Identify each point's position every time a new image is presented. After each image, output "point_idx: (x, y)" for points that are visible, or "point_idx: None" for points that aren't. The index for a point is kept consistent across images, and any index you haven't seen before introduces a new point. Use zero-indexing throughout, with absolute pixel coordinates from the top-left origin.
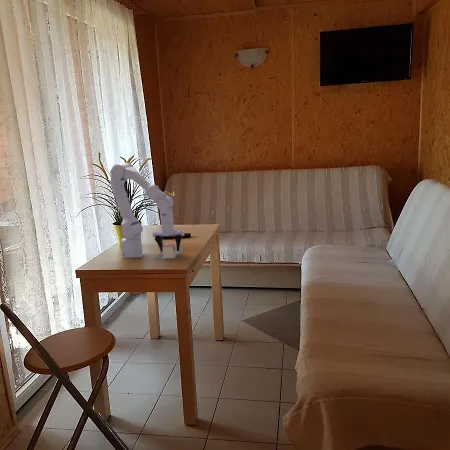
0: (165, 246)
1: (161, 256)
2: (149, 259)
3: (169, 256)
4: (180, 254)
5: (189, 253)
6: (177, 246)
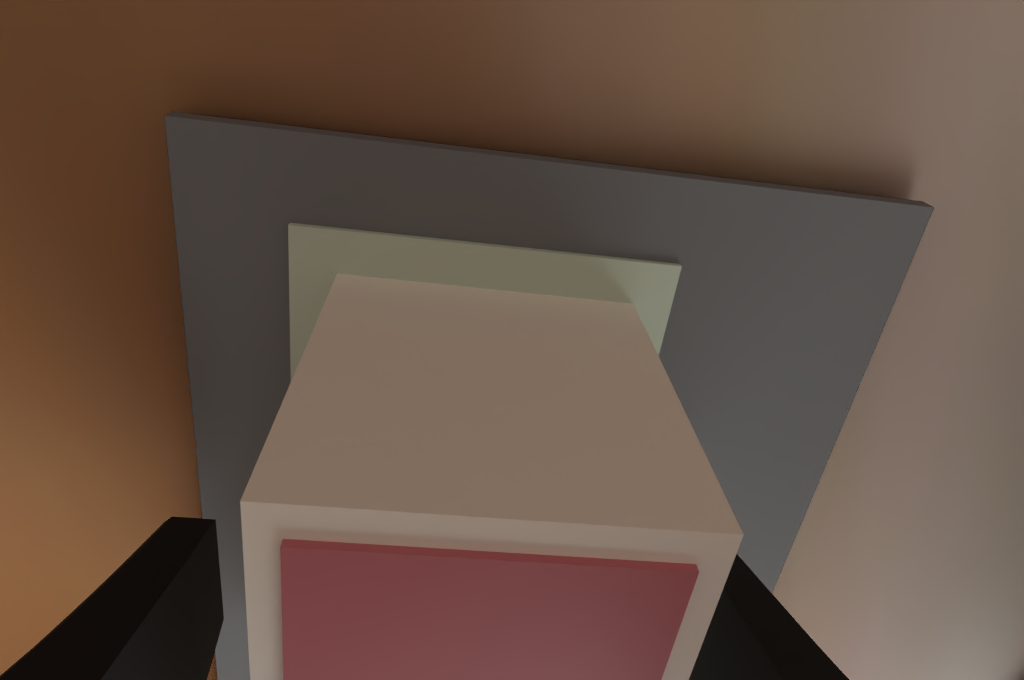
0: (601, 621)
1: None
2: (998, 352)
3: (448, 303)
4: None
5: (34, 607)
6: (77, 644)
